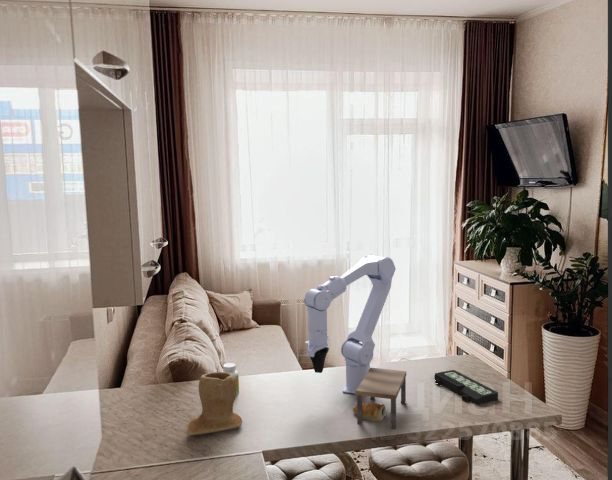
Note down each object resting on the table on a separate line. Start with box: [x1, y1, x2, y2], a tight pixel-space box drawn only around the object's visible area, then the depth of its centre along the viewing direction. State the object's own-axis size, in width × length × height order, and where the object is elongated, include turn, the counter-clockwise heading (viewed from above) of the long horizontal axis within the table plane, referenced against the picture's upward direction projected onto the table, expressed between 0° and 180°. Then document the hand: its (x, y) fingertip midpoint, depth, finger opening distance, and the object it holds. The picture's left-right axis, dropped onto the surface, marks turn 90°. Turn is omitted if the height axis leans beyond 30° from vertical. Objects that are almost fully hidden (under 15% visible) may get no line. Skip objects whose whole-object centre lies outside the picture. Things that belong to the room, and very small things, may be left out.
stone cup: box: [187, 371, 243, 436], centre depth 144 cm, size 15×12×15 cm
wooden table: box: [355, 367, 407, 430], centre depth 150 cm, size 18×11×10 cm, turn 160°
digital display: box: [433, 369, 499, 406], centre depth 165 cm, size 21×3×10 cm
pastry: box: [352, 402, 387, 422], centre depth 150 cm, size 9×7×4 cm
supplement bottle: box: [222, 362, 240, 397], centre depth 166 cm, size 5×5×10 cm
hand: (318, 371), depth 158 cm, fingers closed
